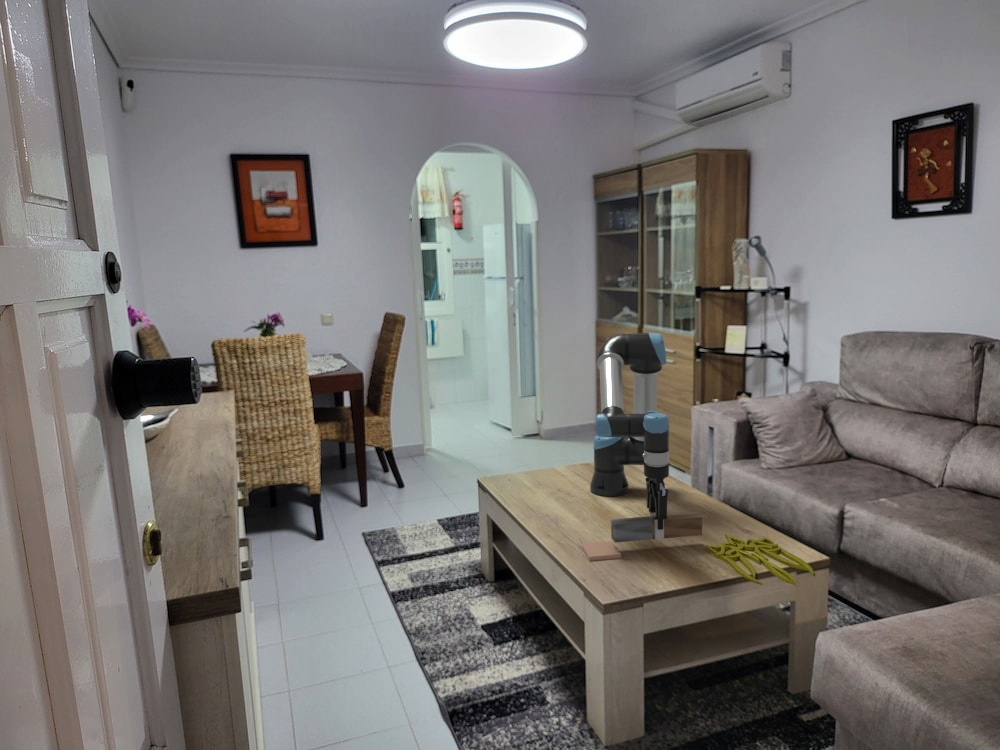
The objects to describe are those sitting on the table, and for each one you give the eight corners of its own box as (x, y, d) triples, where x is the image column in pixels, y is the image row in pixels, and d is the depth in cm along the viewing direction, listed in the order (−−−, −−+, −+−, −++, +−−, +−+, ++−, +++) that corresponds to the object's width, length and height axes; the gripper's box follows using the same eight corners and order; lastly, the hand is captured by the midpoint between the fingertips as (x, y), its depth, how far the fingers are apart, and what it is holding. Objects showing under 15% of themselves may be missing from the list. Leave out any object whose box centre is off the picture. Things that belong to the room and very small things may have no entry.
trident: (755, 529, 221) (830, 575, 187) (755, 533, 221) (830, 581, 187) (693, 538, 216) (760, 587, 182) (693, 542, 216) (760, 593, 182)
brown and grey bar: (611, 537, 212) (611, 519, 211) (696, 530, 215) (697, 512, 214) (614, 542, 208) (614, 524, 207) (702, 535, 211) (702, 516, 210)
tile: (612, 545, 216) (581, 548, 215) (612, 540, 216) (581, 543, 215) (621, 559, 206) (589, 562, 205) (621, 553, 206) (589, 556, 205)
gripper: (635, 456, 216) (636, 526, 220) (654, 472, 199) (654, 547, 203) (658, 455, 217) (658, 524, 221) (678, 470, 200) (678, 545, 204)
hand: (656, 535), depth 212 cm, fingers closed on brown and grey bar, 4 cm apart
